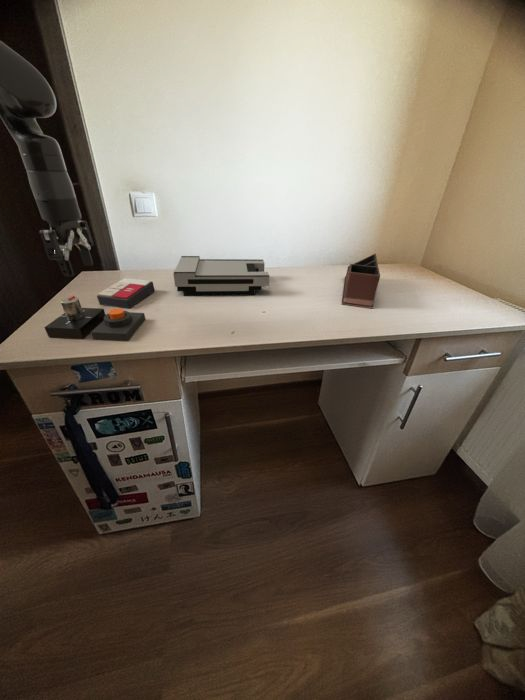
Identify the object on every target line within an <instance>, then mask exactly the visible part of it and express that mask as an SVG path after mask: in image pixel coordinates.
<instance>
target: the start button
mask: <svg viewBox="0 0 525 700" xmlns="http://www.w3.org/2000/svg"><path fill="white" fill-rule="evenodd" d="M124 311H125V310H124V308H113V309H110V310H109V311H108V313H109V315H110V319H113V320H116V319H121V318H124V317H125V314H124Z"/></svg>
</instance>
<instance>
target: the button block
mask: <svg viewBox="0 0 525 700" xmlns="http://www.w3.org/2000/svg"><path fill="white" fill-rule="evenodd" d="M124 314H125V317H124V318H121V319H116V320H113V319H110V315H109V312H108V313H105V316H104V320H103V321H102V322H101V323H100V324H99V325H98V326H97V327H96V328H95V329H94V330H93V331H91V333H90V334H91V337H92V340H97V341H99V340H100V341H117V342H128V341H130V340H131V338H132V337H133V336H134V334H135V333H136V332H137V331H138V329H139V328H140V327H141V326H142V325H143V323H144V322H145V321H146V315H145V313H144V312H131V311H128V310H124Z"/></svg>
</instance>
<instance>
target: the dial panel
mask: <svg viewBox="0 0 525 700" xmlns="http://www.w3.org/2000/svg"><path fill="white" fill-rule="evenodd" d="M81 308H82V310H83V313H84V317H83V318H81V319H79V320H73V321H72V320H68V319H67V317H66V315H65V312H64V313H62V314H61V315H60V316H58V317H57V318H55V319H54V320H53V321H51V322H50V323H48V324H47V325H45V326H44V330H45V332H46V334H47V337H48V338H51V339H52V338H54V339H74V340H75V339H76V340H84V339H85V338H86V337H87V336H88V335H90V334H91V331H93V330H94V329H95V328H96V327H97V326H98V325H99V324H100V323H101V322H102V321H103V320H104V316H105V315H106V312H105V309H104V308H98V307H97V308H96V307H81Z"/></svg>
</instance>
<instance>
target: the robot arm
mask: <svg viewBox="0 0 525 700" xmlns="http://www.w3.org/2000/svg"><path fill="white" fill-rule="evenodd" d="M56 110H57V99H56V94H55V93H54V91H53V89H52V87H51V86H50V84H49V82H48V81H47V79H46V78H45V77H44V76H43V74H42V73H41V72H40V71H39V70H38V69H37V68H36V67H35V66H34V65H33V64H32V63H30V61H28V60H26V58H24V57H23V56H21V55H20V54H19V53H18V52H16V51H15V50H13V49H12V48H11V47H9V46H8V45H7V44H6V43H5V42H3V41H2V40H0V119H1V121H2V122H3V124H4V126H5V127H6V129H7V130H8V133H9V134H10V136H11V137H12V139H13V140H14V142H15V143H16V145H17V147H18V152H19V153H20V157H21V159H22V162H23V166H24V168H25V170H26V174H27V179H28V182H29V186H30V190H31V192H32V194H33V197H34V200H35V203H36V205H37V208H38V211H39V214H40V217H41V219H42V220H43V221H45V222H47V223H48V225H49V229H40V230H39V234H40V237H41V241H42V244H43V247H44V250H45V253H46V256H47V258H48V259H49V260H51V261H52V260H54V261H57V263H58V266H59V269H60V272H61V274H62V275H63V277H65V278H66V277H68V278H72V277H74V276H75V272H74V268H73V266H72V263H71V260H70V259H69V258H70V252H71V251H72V250H73V247H74V246H76V248H78V251H79V255H80V259H81V261H82V264H83V265H84V266H87V267H91V266H93V265H94V262H93V257H92V254H91V251H90V250H91V247H93V246H94V245H95V244H94V243H95V242H94V240H93V236H92V234H91V230H90V228H89V223H88V222H87V220H82V213H81V209H80V207H79V203H78V199H77V195H76V193H75V189H74V185H73V183H72V180H71V178H70V176H69V173H68V169H67V166H66V163H65V159H64V156H63V152H62V149H61V146H60V144H59V142H58V140H56V139H55V138H54V137H53V136H50V135H48V134H45V133H44V132H43V130H42V129H41V127H40V125H39V123H38V122H37V119H47V118H50V117H52V116H53V115H54V114H55V113H56ZM52 249H53V250H54V251H53V250H52Z"/></svg>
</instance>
